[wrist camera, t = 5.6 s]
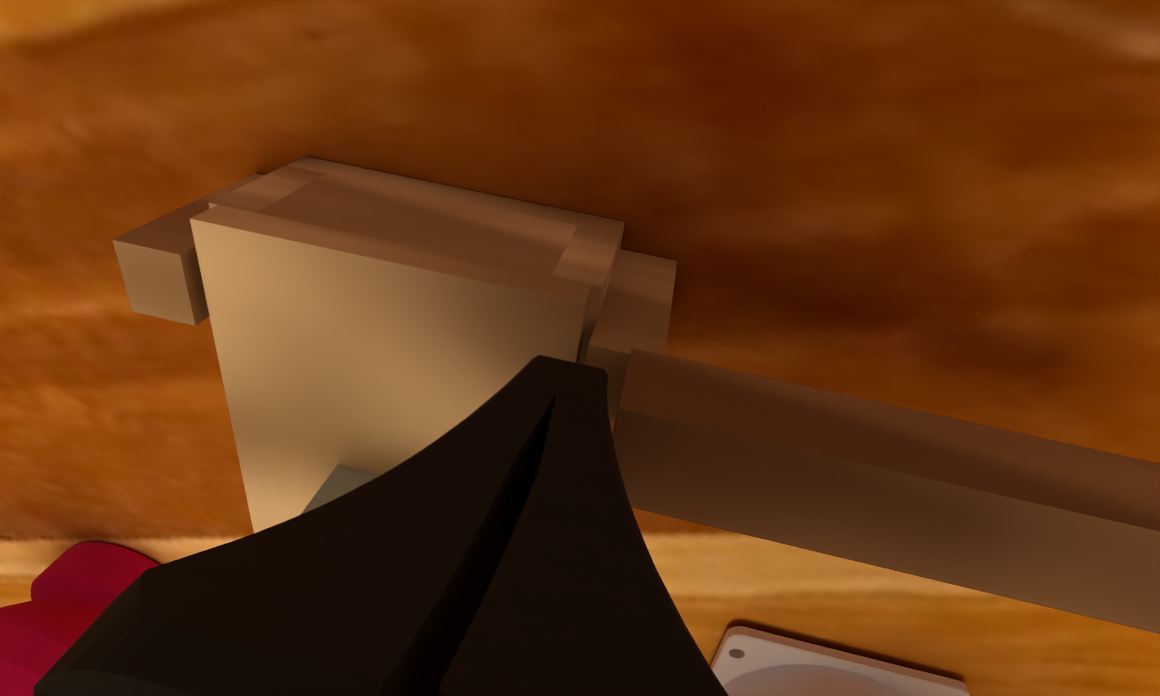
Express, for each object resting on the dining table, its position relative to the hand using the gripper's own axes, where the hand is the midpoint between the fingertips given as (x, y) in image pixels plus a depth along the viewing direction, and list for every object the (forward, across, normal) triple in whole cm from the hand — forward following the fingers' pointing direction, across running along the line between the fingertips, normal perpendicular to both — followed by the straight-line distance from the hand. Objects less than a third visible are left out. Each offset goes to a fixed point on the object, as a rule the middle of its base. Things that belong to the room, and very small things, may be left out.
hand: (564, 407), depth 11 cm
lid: (+2, +4, +4) cm, 6 cm away
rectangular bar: (+1, -6, 0) cm, 6 cm away
